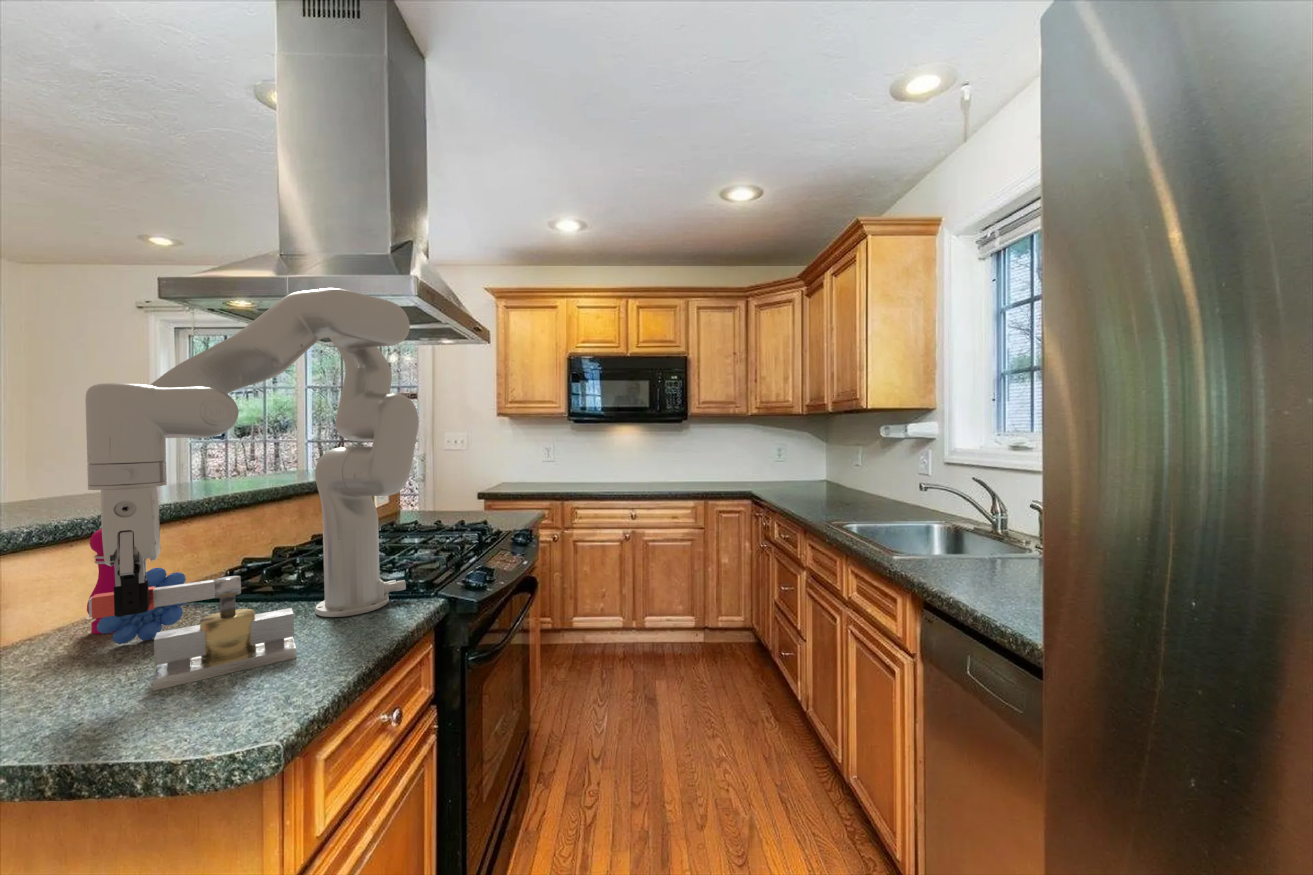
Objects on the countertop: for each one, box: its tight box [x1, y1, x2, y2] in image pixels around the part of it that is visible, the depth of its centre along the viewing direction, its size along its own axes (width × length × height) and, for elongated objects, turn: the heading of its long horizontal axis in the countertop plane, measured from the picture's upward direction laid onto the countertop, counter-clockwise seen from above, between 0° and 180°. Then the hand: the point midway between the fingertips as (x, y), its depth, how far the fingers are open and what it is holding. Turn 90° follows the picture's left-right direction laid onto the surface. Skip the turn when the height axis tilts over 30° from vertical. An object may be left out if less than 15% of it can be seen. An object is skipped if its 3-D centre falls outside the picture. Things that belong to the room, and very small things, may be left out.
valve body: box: [152, 595, 297, 692], centre depth 80 cm, size 16×9×10 cm, turn 128°
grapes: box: [97, 567, 188, 645], centre depth 91 cm, size 12×7×12 cm, turn 136°
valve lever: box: [88, 575, 242, 620], centre depth 76 cm, size 16×3×3 cm, turn 127°
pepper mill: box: [86, 527, 116, 635], centre depth 96 cm, size 7×7×20 cm
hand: (132, 612), depth 72 cm, fingers closed
